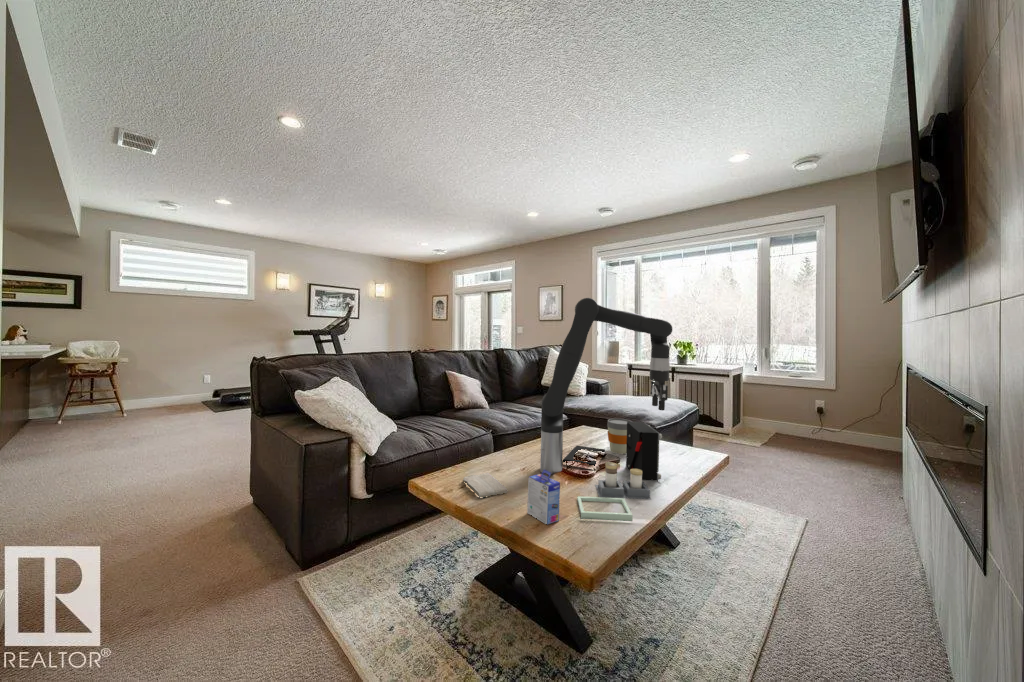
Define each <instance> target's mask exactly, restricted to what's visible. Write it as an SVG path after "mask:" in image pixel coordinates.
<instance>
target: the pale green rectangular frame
mask: <svg viewBox="0 0 1024 682" xmlns="http://www.w3.org/2000/svg"><path fill="white" fill-rule="evenodd" d="M576 499H577V504H578V509H579V513H580V519H582V520H597V521H598V520H600V521H601V520H603V521H618V522H619V521H620V522H633V517H634V516H633V513H632V511H631V510H630V507H629V505H628V503H627V502H626V498H606V497H599V496H583V495H582V496H577V497H576ZM582 501H583V502H602V503H620V504H622V506H623V508H624V510H625V512H611V511H610V512H609V511H608V512H606V511H585V509H584V506H583V502H582Z"/></svg>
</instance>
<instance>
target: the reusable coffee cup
mask: <svg viewBox="0 0 1024 682" xmlns="http://www.w3.org/2000/svg"><path fill="white" fill-rule="evenodd" d="M627 422H633V421H632V420H630V419H627V418H626V419H625V418H609V419H607V423H606V424H607V425H606V426H607V440H608V442H609V451H610V452H611V453H614V454H619V455H626V446H627Z"/></svg>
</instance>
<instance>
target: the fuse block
mask: <svg viewBox="0 0 1024 682" xmlns="http://www.w3.org/2000/svg"><path fill="white" fill-rule="evenodd" d="M629 472H630V475H629V476H630V479H629V480H622V483H621V481H620V480H617V488H614V487H605V479H597V480H598V484H594V487H595V489H596V492H597V495H598V497H605V498H624V499H628V500H629V499H633V500H652V498H651V490H650V488H649V487H648V485H647V484H646V483H645V481H643V480H642V470H640V469H630V471H629Z"/></svg>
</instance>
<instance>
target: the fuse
mask: <svg viewBox="0 0 1024 682" xmlns="http://www.w3.org/2000/svg"><path fill="white" fill-rule="evenodd" d="M604 471H605V479H604V480H605V487H614V488H617V481H618V478H617V477H618V464H617V463H615V462H611V461H608V462H605V470H604Z"/></svg>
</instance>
